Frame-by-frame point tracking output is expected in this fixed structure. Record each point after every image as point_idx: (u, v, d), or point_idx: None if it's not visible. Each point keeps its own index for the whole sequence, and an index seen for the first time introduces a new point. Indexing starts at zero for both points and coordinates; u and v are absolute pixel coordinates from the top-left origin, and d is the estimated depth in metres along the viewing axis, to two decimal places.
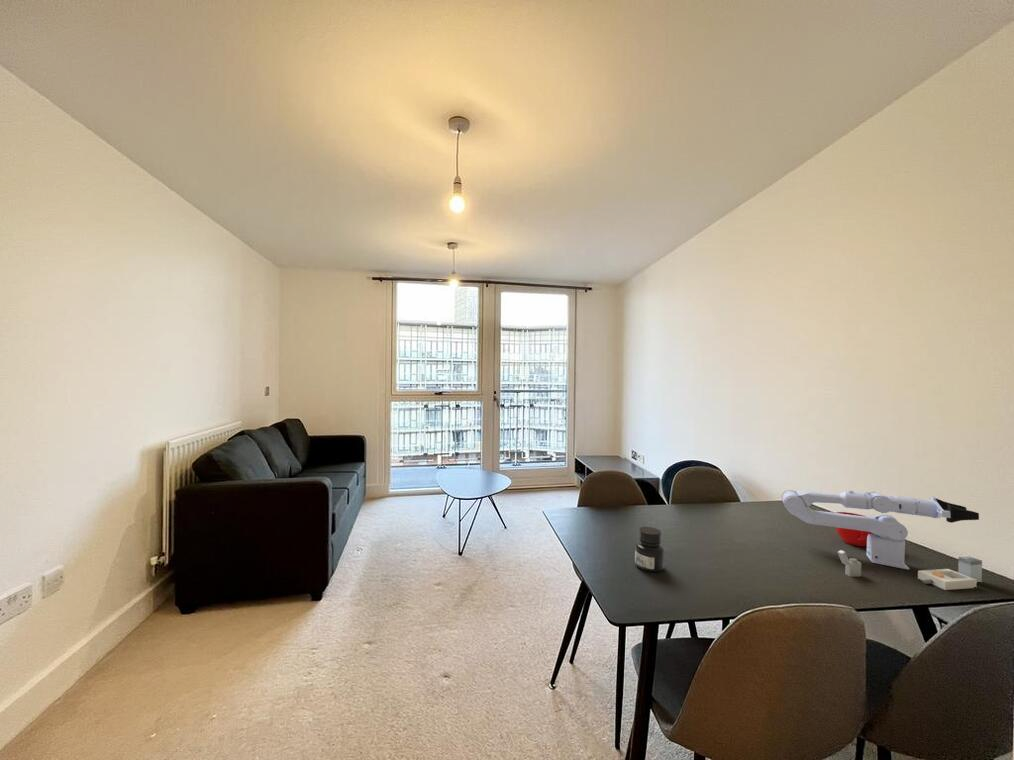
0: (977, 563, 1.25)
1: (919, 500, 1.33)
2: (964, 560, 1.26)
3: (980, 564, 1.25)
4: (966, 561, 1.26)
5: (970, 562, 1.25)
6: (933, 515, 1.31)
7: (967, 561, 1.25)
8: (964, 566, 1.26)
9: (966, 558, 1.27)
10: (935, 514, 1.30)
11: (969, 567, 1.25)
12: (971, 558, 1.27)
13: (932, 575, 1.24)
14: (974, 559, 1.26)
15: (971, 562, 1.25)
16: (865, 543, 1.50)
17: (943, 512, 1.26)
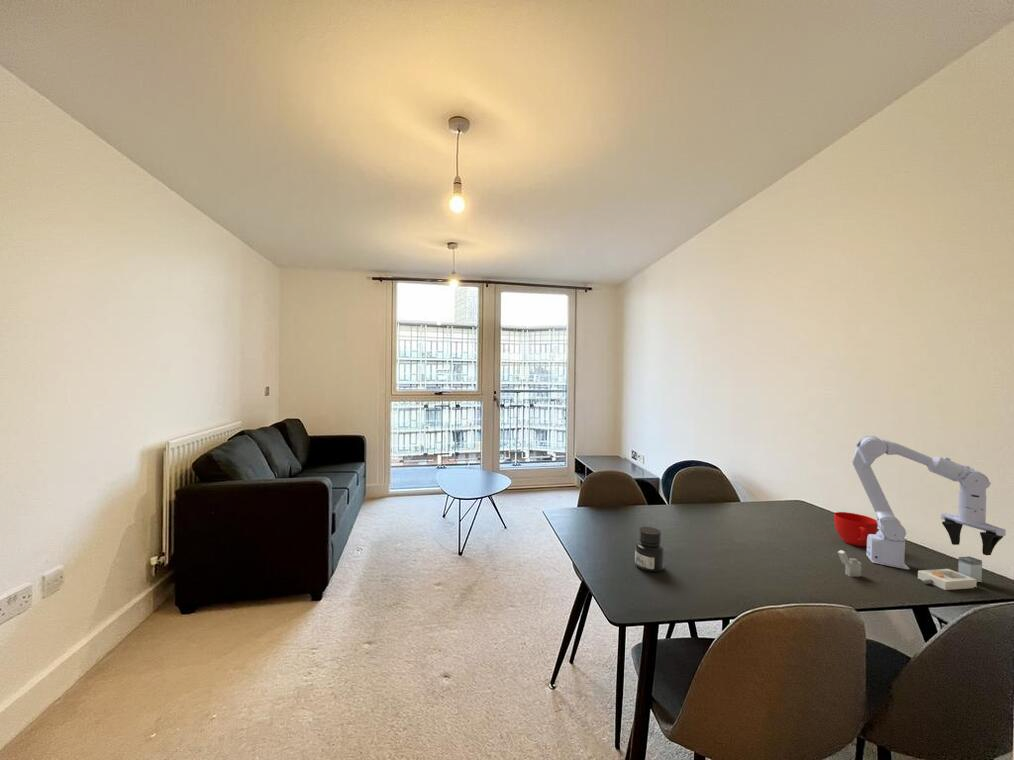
0: (977, 563, 1.25)
1: None
2: (964, 560, 1.26)
3: (980, 564, 1.25)
4: (966, 561, 1.26)
5: (970, 562, 1.25)
6: (975, 522, 1.24)
7: (967, 561, 1.25)
8: (964, 566, 1.26)
9: (966, 558, 1.27)
10: (978, 523, 1.24)
11: (969, 567, 1.25)
12: (971, 558, 1.27)
13: (932, 575, 1.24)
14: (974, 559, 1.26)
15: (971, 562, 1.25)
16: (865, 543, 1.50)
17: (1004, 530, 1.19)
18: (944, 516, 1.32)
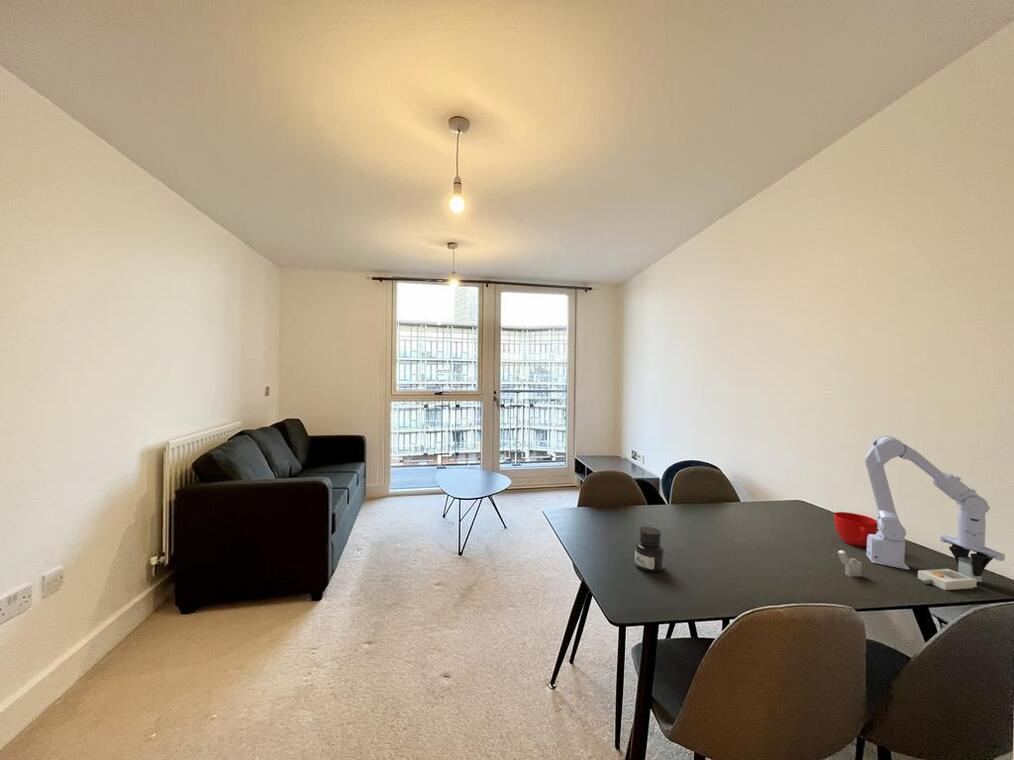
0: None
1: None
2: (964, 560, 1.26)
3: None
4: (966, 561, 1.26)
5: (970, 562, 1.25)
6: (975, 546, 1.24)
7: (967, 561, 1.25)
8: (964, 566, 1.26)
9: (966, 558, 1.27)
10: (978, 547, 1.24)
11: (969, 567, 1.25)
12: (971, 558, 1.27)
13: (932, 575, 1.24)
14: None
15: (971, 562, 1.25)
16: (865, 543, 1.50)
17: (1003, 555, 1.19)
18: (943, 538, 1.32)
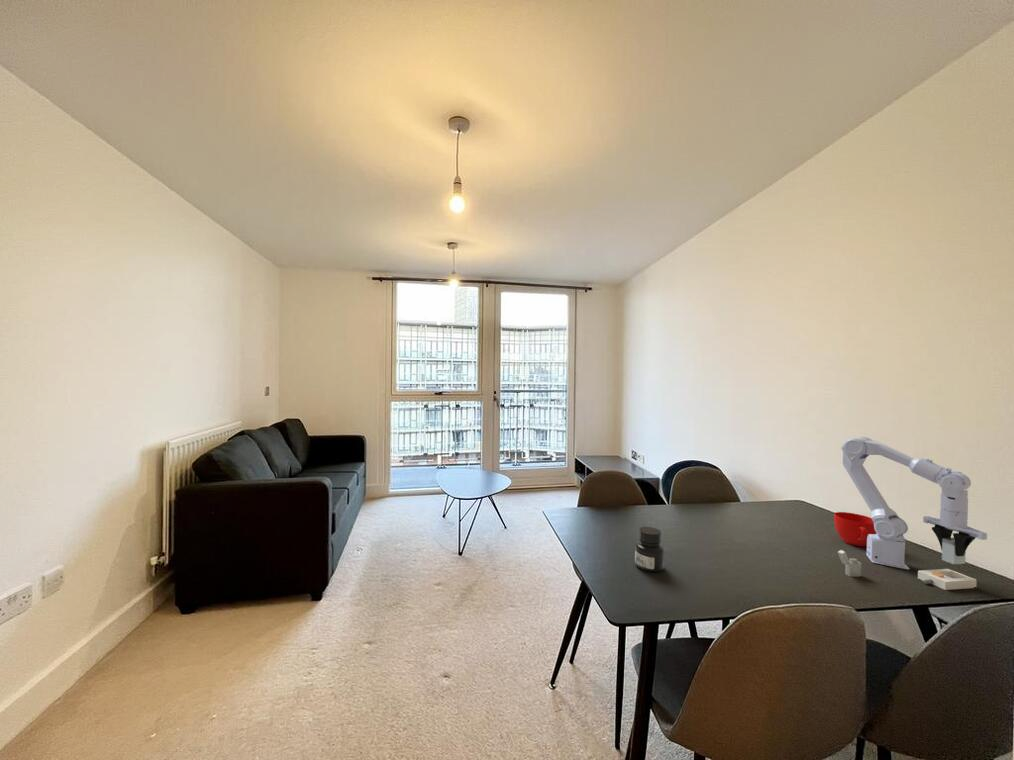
0: None
1: None
2: (948, 541, 1.24)
3: None
4: (950, 542, 1.24)
5: (954, 543, 1.23)
6: (957, 525, 1.22)
7: (951, 542, 1.24)
8: (948, 547, 1.24)
9: (950, 539, 1.25)
10: (960, 527, 1.22)
11: (953, 548, 1.23)
12: None
13: (932, 575, 1.24)
14: None
15: None
16: (865, 543, 1.50)
17: (985, 534, 1.17)
18: (926, 519, 1.31)
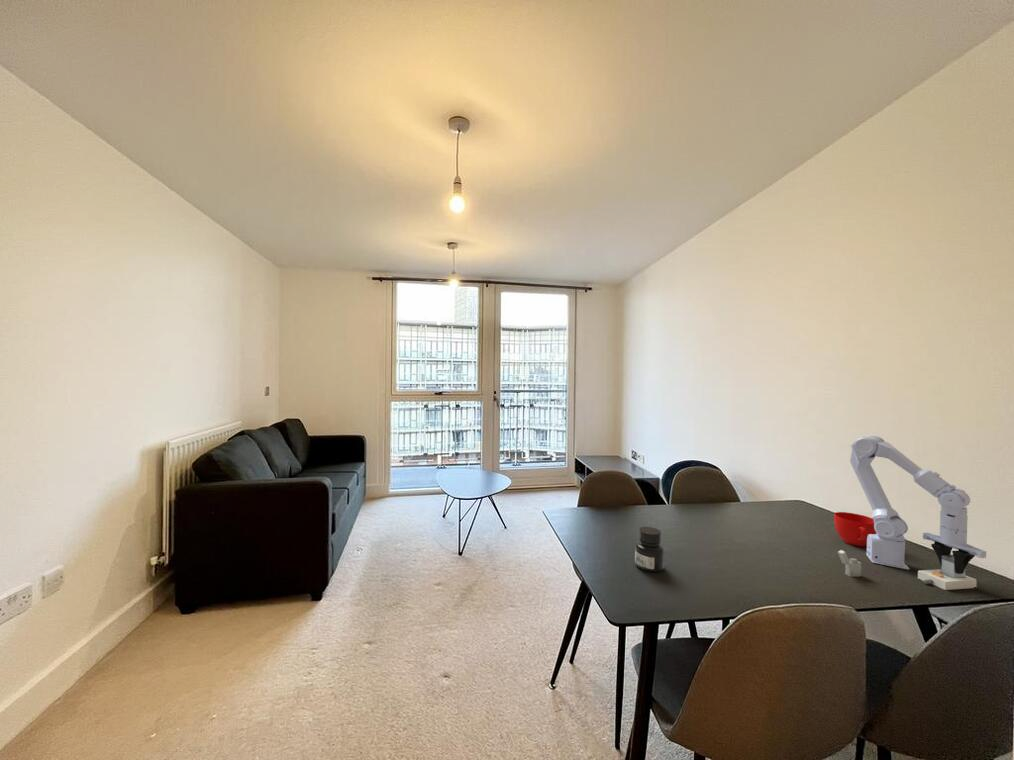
0: None
1: None
2: (947, 558, 1.24)
3: None
4: (949, 559, 1.24)
5: (953, 560, 1.23)
6: (956, 543, 1.22)
7: (950, 559, 1.24)
8: (947, 564, 1.24)
9: (949, 556, 1.25)
10: (959, 545, 1.22)
11: (952, 566, 1.23)
12: None
13: (932, 575, 1.24)
14: None
15: (954, 560, 1.23)
16: (865, 543, 1.50)
17: (985, 552, 1.17)
18: (926, 536, 1.31)
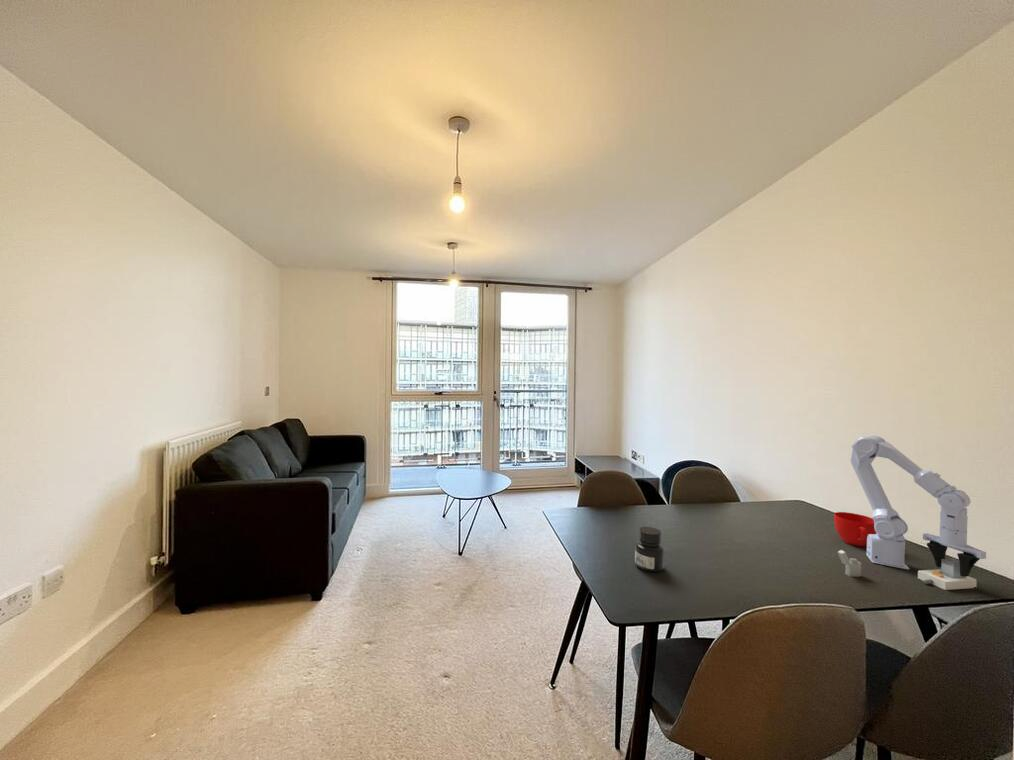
0: None
1: None
2: (947, 562, 1.24)
3: None
4: (949, 563, 1.24)
5: (953, 564, 1.23)
6: (956, 544, 1.22)
7: (950, 563, 1.24)
8: (947, 568, 1.24)
9: (949, 560, 1.25)
10: (959, 545, 1.22)
11: (952, 569, 1.23)
12: (954, 560, 1.25)
13: (932, 575, 1.24)
14: (957, 561, 1.24)
15: (954, 563, 1.23)
16: (865, 543, 1.50)
17: (985, 553, 1.17)
18: (926, 536, 1.31)
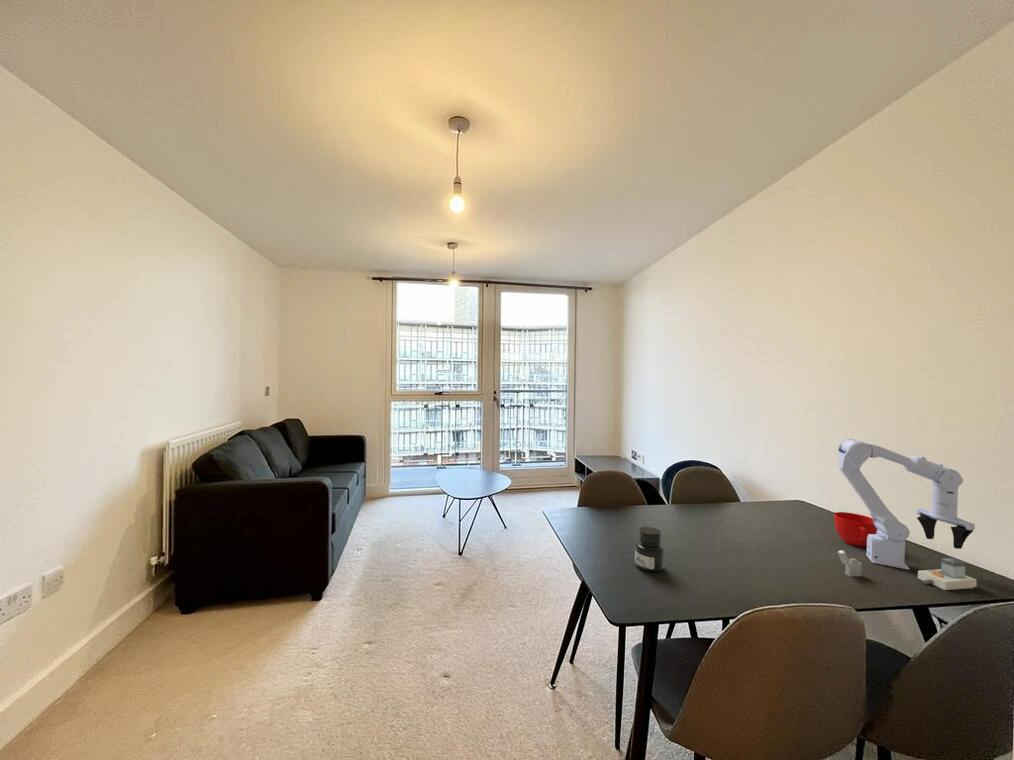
0: (960, 565, 1.23)
1: None
2: (947, 562, 1.24)
3: (963, 566, 1.23)
4: (949, 563, 1.24)
5: (953, 564, 1.23)
6: (947, 517, 1.30)
7: (950, 563, 1.24)
8: (947, 568, 1.24)
9: (949, 560, 1.25)
10: (950, 518, 1.29)
11: (952, 569, 1.23)
12: (954, 560, 1.25)
13: (932, 575, 1.24)
14: (957, 561, 1.24)
15: (954, 563, 1.23)
16: (865, 543, 1.50)
17: (973, 525, 1.25)
18: (919, 512, 1.38)
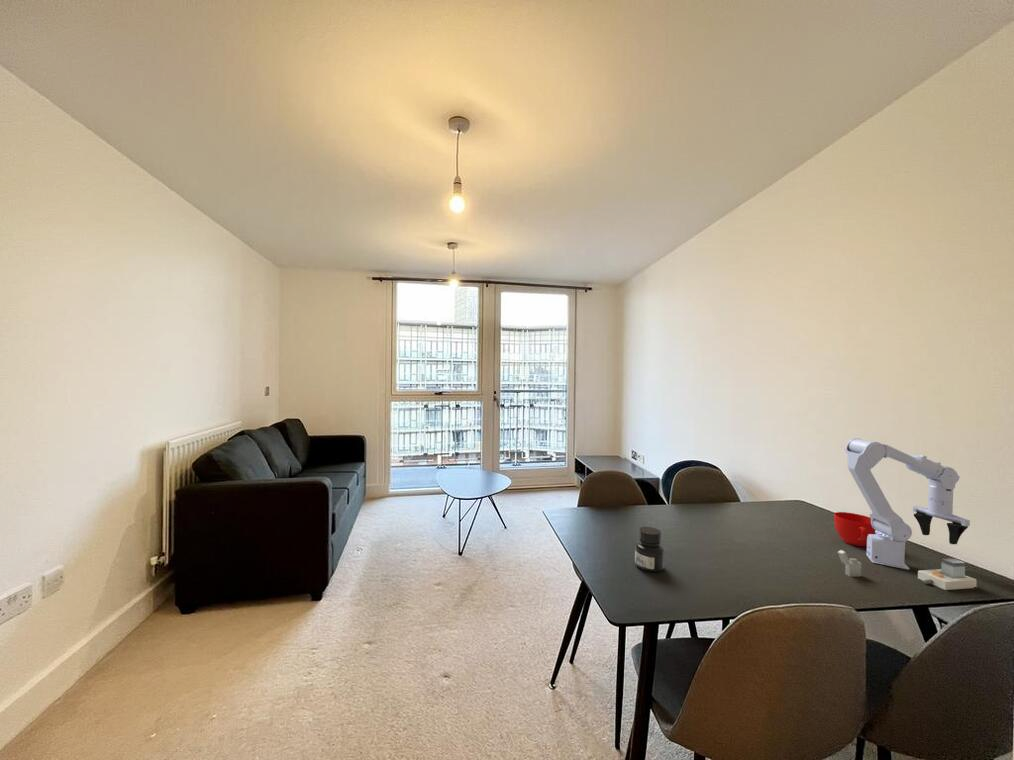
0: (960, 565, 1.23)
1: None
2: (947, 562, 1.24)
3: (963, 566, 1.23)
4: (949, 563, 1.24)
5: (953, 564, 1.23)
6: (943, 513, 1.33)
7: (950, 563, 1.24)
8: (947, 568, 1.24)
9: (949, 560, 1.25)
10: (946, 515, 1.33)
11: (952, 569, 1.23)
12: (954, 560, 1.25)
13: (932, 575, 1.24)
14: (957, 561, 1.24)
15: (954, 563, 1.23)
16: (865, 543, 1.50)
17: (968, 521, 1.29)
18: (916, 508, 1.42)
